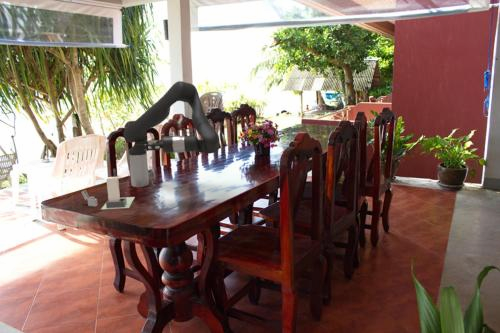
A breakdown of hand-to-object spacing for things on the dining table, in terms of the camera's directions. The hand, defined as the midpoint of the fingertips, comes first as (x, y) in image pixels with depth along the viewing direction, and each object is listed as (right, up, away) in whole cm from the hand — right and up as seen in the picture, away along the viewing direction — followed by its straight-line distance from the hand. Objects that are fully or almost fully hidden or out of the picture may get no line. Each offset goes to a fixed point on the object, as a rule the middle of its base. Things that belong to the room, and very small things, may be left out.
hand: (137, 145), depth 193 cm
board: (-11, -27, +9) cm, 30 cm away
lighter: (-23, -28, +6) cm, 37 cm away
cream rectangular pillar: (-11, -27, +4) cm, 29 cm away
